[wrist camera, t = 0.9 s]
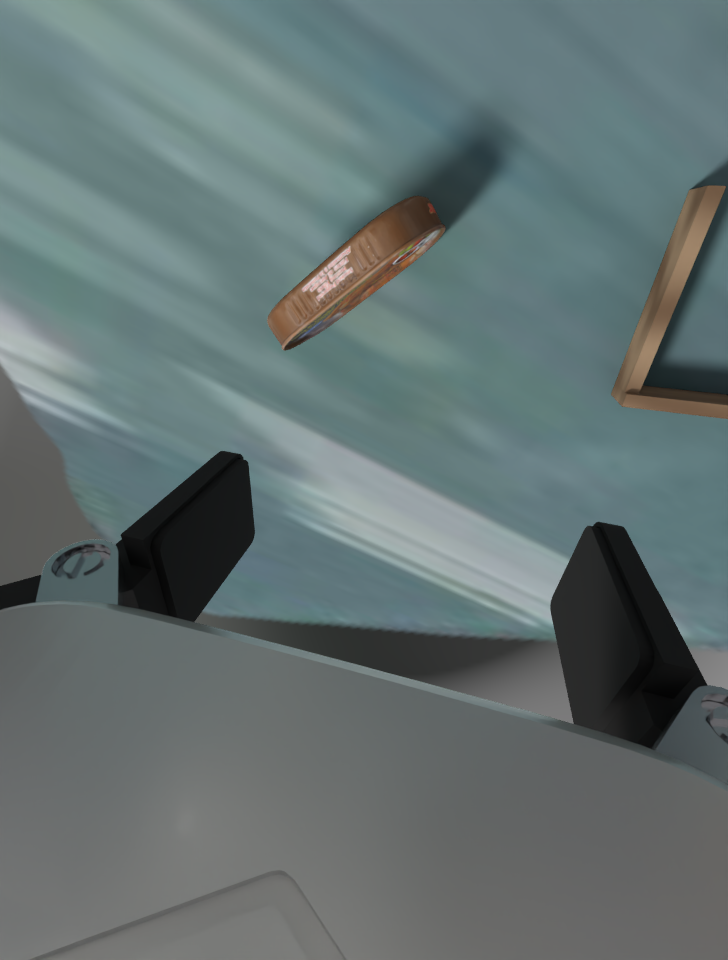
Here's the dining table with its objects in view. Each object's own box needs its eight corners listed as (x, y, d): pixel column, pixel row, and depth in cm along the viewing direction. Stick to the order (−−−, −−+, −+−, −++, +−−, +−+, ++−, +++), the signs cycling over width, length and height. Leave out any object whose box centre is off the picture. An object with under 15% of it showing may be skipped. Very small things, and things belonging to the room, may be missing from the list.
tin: (308, 342, 38) (270, 365, 30) (287, 312, 37) (243, 328, 30) (451, 233, 31) (444, 231, 24) (430, 193, 30) (416, 178, 23)
